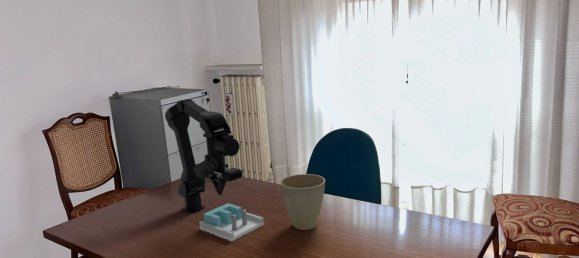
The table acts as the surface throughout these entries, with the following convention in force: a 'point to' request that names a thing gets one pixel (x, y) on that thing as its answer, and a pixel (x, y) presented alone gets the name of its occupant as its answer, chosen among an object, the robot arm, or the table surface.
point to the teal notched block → (222, 215)
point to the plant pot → (303, 199)
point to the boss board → (239, 228)
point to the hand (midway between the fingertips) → (219, 194)
